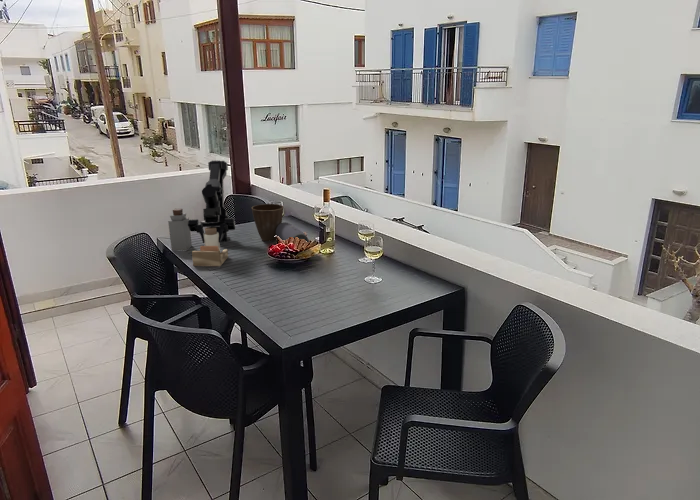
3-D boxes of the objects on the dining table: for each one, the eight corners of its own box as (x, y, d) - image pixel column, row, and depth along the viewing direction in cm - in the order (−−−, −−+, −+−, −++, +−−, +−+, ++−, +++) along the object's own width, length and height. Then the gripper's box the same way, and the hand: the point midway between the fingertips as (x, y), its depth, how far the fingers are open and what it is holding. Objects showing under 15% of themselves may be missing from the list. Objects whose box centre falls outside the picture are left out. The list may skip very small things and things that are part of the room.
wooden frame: (202, 256, 200) (201, 243, 199) (228, 257, 200) (227, 243, 198) (193, 265, 190) (191, 251, 188) (220, 266, 189) (219, 252, 187)
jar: (212, 253, 201) (210, 225, 197) (223, 255, 198) (221, 227, 195) (202, 257, 196) (199, 229, 192) (213, 259, 193) (210, 231, 190)
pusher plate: (202, 260, 195) (201, 245, 193) (219, 260, 195) (218, 245, 193) (201, 261, 194) (200, 246, 192) (218, 261, 193) (217, 246, 191)
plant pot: (250, 237, 229) (248, 205, 224) (279, 234, 235) (278, 202, 230) (258, 245, 216) (256, 211, 211) (289, 241, 222) (287, 208, 217)
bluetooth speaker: (310, 253, 205) (310, 231, 202) (290, 256, 201) (289, 234, 198) (293, 240, 224) (293, 220, 221) (275, 242, 221) (274, 222, 218)
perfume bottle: (186, 250, 209) (182, 211, 204) (171, 250, 209) (166, 211, 204) (191, 246, 215) (187, 207, 210) (177, 245, 216) (172, 207, 210)
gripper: (186, 200, 193) (184, 233, 186) (232, 199, 195) (232, 231, 188) (191, 214, 202) (189, 246, 195) (235, 213, 205) (235, 244, 198)
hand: (211, 242), depth 194 cm, fingers closed on jar, 6 cm apart
